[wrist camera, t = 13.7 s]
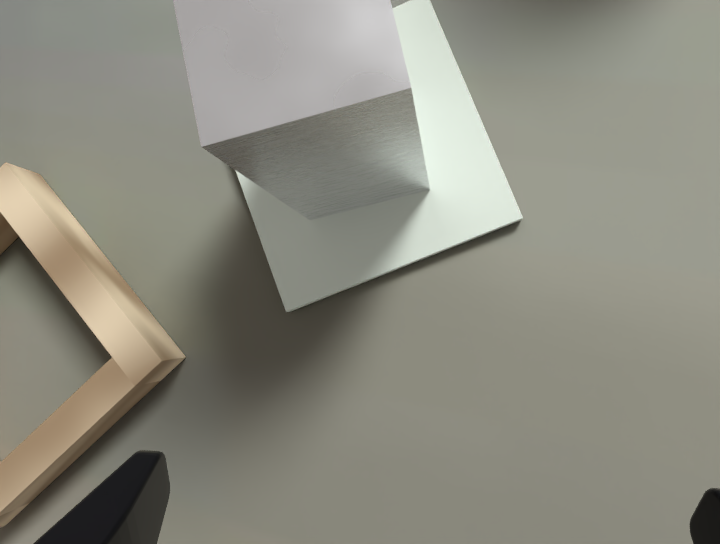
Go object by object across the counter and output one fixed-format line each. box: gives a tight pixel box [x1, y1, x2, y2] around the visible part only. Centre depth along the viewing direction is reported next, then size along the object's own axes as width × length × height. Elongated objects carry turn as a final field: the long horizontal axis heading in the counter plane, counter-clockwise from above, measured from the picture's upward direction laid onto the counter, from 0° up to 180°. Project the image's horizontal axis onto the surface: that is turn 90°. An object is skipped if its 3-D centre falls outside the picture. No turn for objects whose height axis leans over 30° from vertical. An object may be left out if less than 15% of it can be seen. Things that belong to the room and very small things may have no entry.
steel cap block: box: [173, 0, 430, 220], centre depth 18 cm, size 4×5×10 cm
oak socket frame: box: [0, 162, 186, 528], centre depth 24 cm, size 11×11×2 cm
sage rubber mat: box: [236, 0, 523, 312], centre depth 23 cm, size 10×10×1 cm
